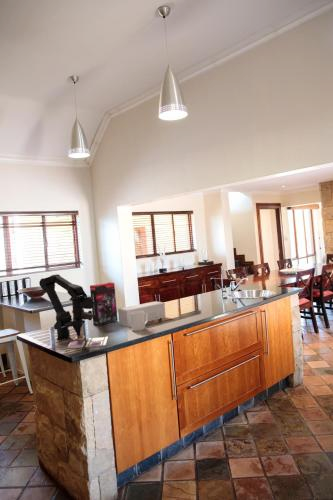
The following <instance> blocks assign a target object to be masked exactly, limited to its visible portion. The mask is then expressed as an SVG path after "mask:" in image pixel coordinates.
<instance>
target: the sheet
mask: <svg viewBox="0 0 333 500" xmlns="http://www.w3.org/2000/svg"><path fill="white" fill-rule="evenodd" d="M108 339H109V336H98V337H96V336H95V337H89V338H88V340H87V342H86V343H85V345H84V348H91V347H100V346H102V347H103V346H106V345H107V342H108Z"/></svg>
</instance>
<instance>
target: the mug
mask: <svg viewBox="0 0 333 500" xmlns="http://www.w3.org/2000/svg"><path fill="white" fill-rule="evenodd" d="M144 314H145V313H144V311H133V312H130V322H131V326H130V329H131V331H132V332H135V333H136V332H143V331H145V329H146V324H147V323H149V322H148V313H146V322H145V316H144Z"/></svg>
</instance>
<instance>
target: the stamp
mask: <svg viewBox="0 0 333 500" xmlns="http://www.w3.org/2000/svg"><path fill="white" fill-rule="evenodd" d="M74 341H86V335H83V325H82V326H81V332H80V336H78V335H77V334H76V336H75V337H74Z"/></svg>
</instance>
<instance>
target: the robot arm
mask: <svg viewBox="0 0 333 500" xmlns="http://www.w3.org/2000/svg"><path fill="white" fill-rule="evenodd" d="M38 283H39V287H40V288H41V290H42V291H44V292H45V293H46V294H47V296H48V299H49V301H50V303H51V305H52V307H53V310H54V312H55V321H56V322H55V324H54V325H53V329H54V330H56V334H57V338H56V340H57V341H58V340H68V339H69V338H70V336H71V331H70V329H69V328H70V327H72V328H73V329H74V331H75V333H76V336H77V335H78V336H80V332H81V326H82V327H83V325H84V324H85V322H86V320H88V321H93V313H92V308H93V306H94V302H93V300H92V299H91V296H88V295H87V293H86V292H85V290H84V288H83V286H81V285H78V284H75V283H72V282H70V281H68V279H65V278H64V277H62V276H61V275H60V274H57V273H55V274H52V275H49V276H47V277H42V278H41V279H40V280H39V282H38ZM56 284H57V286H58V285H59V286H60V287H62V288H63V290H66V292H67V294H68V295H69V296H70V297H69V299H68V300H69V301H70V302H71V303H72V304H71V305H72V306H71V307H72V311H71V312H70V311H69V310H67V311H66V310H65V309H64V307H63V304H62V302H61V300H60V298H59V296H58V294H57V292H56ZM85 310H88V311H85ZM71 313H72V315H71Z"/></svg>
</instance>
